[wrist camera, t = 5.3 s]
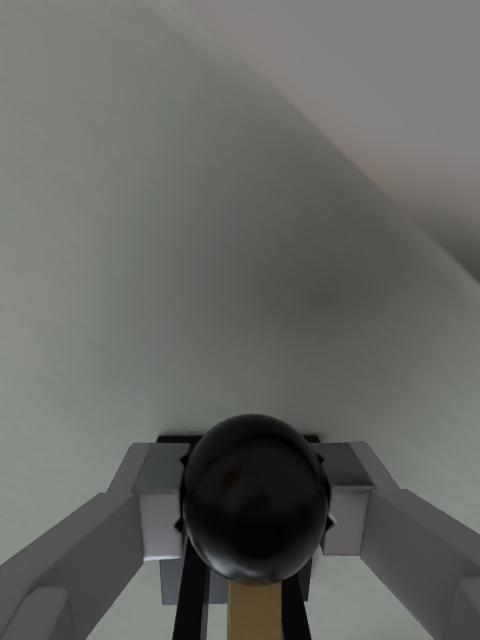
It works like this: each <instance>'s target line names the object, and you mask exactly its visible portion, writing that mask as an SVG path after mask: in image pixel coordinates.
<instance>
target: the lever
mask: <svg viewBox="0 0 480 640" xmlns="http://www.w3.org/2000/svg"><path fill="white" fill-rule="evenodd" d="M181 512H182V517H183V522H184V525H185V528H186V532H187V535H188V537H189V539H190V542H191V544H192V545H193V547H194V549H195V550H196V552H197V553H198V555H199V556H200V558H201V559H202V560H203V561H204V562H205V564H206V565H207V566H208V567H210V568H211V569H212V570H213V571H214V572H216V573H217V574H219V575H220V576H221V577H223V578H225V579H227V580H228V608H227V640H281V581H284V580H286V579H287V578H289V577H291V576H292V575H294V574H295V573H297V572H298V571H299V570H300V569H301V568H302V567H303V566H304V565H305V564H306V563H307V562H308V560H309V559H310V558H311V557H312V555H313V553H314V552H315V550H316V549H317V547H318V545H319V543H320V541H321V538H322V535H323V532H324V529H325V525H326V520H327V515H328V491H327V485H326V479H325V476H324V472H323V469H322V466H321V464H320V462H319V460H318V458H317V456H316V454H315V452H314V450H313V449H312V447H311V446H310V444H309V443H308V442H307V441H306V440H305V438H304V437H303V436H302V435H301V434H300V433H299V432H297V431H296V430H295V429H294V428H293V427H291V426H290V425H288V424H287V423H285V422H283V421H281V420H279V419H276V418H273V417H271V416H267V415H262V414H243V415H238V416H234V417H231V418H228V419H226V420H224V421H222V422H220V423H219V424H217V425H216V426H214V427H213V428H212V429H211V430H210V431H208V432H207V433H206V434H205V435H204V436H203V437H202V439H201V440H200V441H199V442H198V444H197V445H196V447H195V448H194V450H193V452H192V454H191V456H190V458H189V460H188V462H187V465H186V467H185V470H184V475H183V482H182V491H181Z"/></svg>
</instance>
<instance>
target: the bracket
mask: <svg viewBox="0 0 480 640" xmlns="http://www.w3.org/2000/svg"><path fill="white" fill-rule="evenodd" d="M202 437H203V436H191V437H158V439H157V441H156V443H190V444H191V452H193V450H194V448H195V447H196V445H197V444H198V442H199V441H200V440H201V439H202ZM303 437H304V438H305V440H306V441H307V442H308V443H320V441H319V439H318V437H317V436H303ZM312 556H313V555H312ZM311 565H312V557H311V558H310V559H309V560H308V562H307V563H306V564H305V565H304V566H303V567H302V568H301V569H300V570H299V571H298V572H297V573H295V574H294V575H292V576H291V577H289V578H287V579H286V580H284V581H281V640H312V639H311V634H310V629H309V625H308V620H307V615H306V610H305V605H304V601H308V594H309V584H310V575H311ZM160 575H161V591H162V605H177V611H176V618H175V624H174V631H173V638H172V640H206V637H207V621H208V604H224V603H228V580H227V579H225V578H223V577H221V576H220V575H219V574H217V573H216V572H214V571H213V570H212V569H211V568H210V567H208V566H207V565H206V564H205V562H204V561H203V560H202V559H201V558H200V556H199V555H198V553H197V552H196V550H195V549H194V547H193V545H192V544H191V542H190V539H189V537H188V535H187V532H186V537H185V543H184V549H183V555H182V558H177V559H160Z"/></svg>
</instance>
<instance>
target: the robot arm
mask: <svg viewBox="0 0 480 640" xmlns="http://www.w3.org/2000/svg"><path fill="white" fill-rule="evenodd" d="M309 444H310V446H311V447H312V449H313V450H314V452H315V454H316V456H317V458H318V460H319V462H320V464H321V466H322V469H323V472H324V476H325V479H326V485H327V491H328V515H327V520H326V525H325V529H324V532H323V535H322V538H321V541H320V546H321V549H322V552H323V555H340V556H361V557H360V558H361V559H362V560H363V561H364V562H365V564H366V565H367V566H368V567H369V568H370V569H371V570H372V571H373V572H374V573H375V575H376V576H377V577H378V578H379V579H380V580H381V581H382V582H383V583H384V584H385V586H386V587H387V588H388V589H389V590H390V591H391V592H392V593H393V594H394V595H395V597H396V598H397V599H398V600H399V601H400V602H401V603H402V604H403V605H404V606H405V608H406V609H407V610H408V611H409V612H410V613H411V614H412V615H413V616H414V617H415V619H416V620H417V621H418V622H419V623H420V624H421V625H422V626H423V627H424V628H425V630H426V631H427V632H428V633H429V634H430V635H431V636H432V637H433V638H434V639H435V640H480V535H479V534H478V533H476V532H475V531H473V530H471V529H470V528H468V527H467V526H465V525H463V524H462V523H460V522H459V521H457V520H455V519H454V518H452V517H451V516H449V515H447V514H446V513H444V512H442V511H441V510H439V509H438V508H436V507H434V506H433V505H431V504H430V503H428V502H426V501H425V500H423V499H422V498H420V497H418V496H417V495H415V494H414V493H412V492H410V491H409V490H407V489H400V488H399V486H398V485H397V484H396V482H395V481H394V480H393V478H392V477H391V475H390V474H389V473H388V471H387V470H386V469H385V467H384V466H383V464H382V463H381V462H380V460H379V459H378V457H377V456H376V455H375V453H374V452H373V451H372V449H371V448H370V446H369V445H368V444H367V443H366V442H364V441H361V442H345V443H309ZM191 454H192V452H191V444H190V443H133V444H132V445H131V446H130V447H129V449H128V451H127V453H126V455H125V457H124V459H123V461H122V463H121V465H120V467H119V469H118V470H117V472H116V474H115V476H114V478H113V480H112V482H111V484H110V486H109V488H108V490H107V492H106V493H99V494H97V495H96V496H95V497H93V498H92V499H91V500H89V501H88V502H87V503H85V504H84V505H82V506H81V507H80V508H78V509H77V510H76V511H74V512H73V513H71V514H70V515H69V516H67V517H66V518H65V519H63V520H62V521H61V522H59V523H58V524H56V525H55V526H54V527H52V528H51V529H50V530H48V531H47V532H46V533H44V534H43V535H41V536H40V537H39V538H37V539H36V540H35V541H33V542H32V543H30V544H29V545H28V546H26V547H25V548H24V549H22V550H21V551H20V552H18V553H17V554H15V555H14V556H13V557H11V558H10V559H9V560H7V561H6V562H4V563H3V564H2V565H0V640H85V639H86V638H87V636H88V635H89V634H90V632H91V631H92V630H93V629H94V627H95V626H96V625H97V623H98V622H99V621H100V619H101V618H102V617H103V615H104V614H105V613H106V612H107V610H108V609H109V608H110V606H111V605H112V604H113V602H114V601H115V600H116V598H117V597H118V596H119V595H120V593H121V592H122V591H123V589H124V588H125V587H126V585H127V584H128V583H129V582H130V580H131V579H132V578H133V576H134V575H135V574H136V572H137V571H138V570H139V568H140V567H141V566H142V565H143V560H159V559H177V558H182V555H183V549H184V543H185V537H186V528H185V525H184V522H183V517H182V512H181V491H182V482H183V475H184V470H185V467H186V465H187V462H188V460H189V458H190V456H191Z"/></svg>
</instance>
